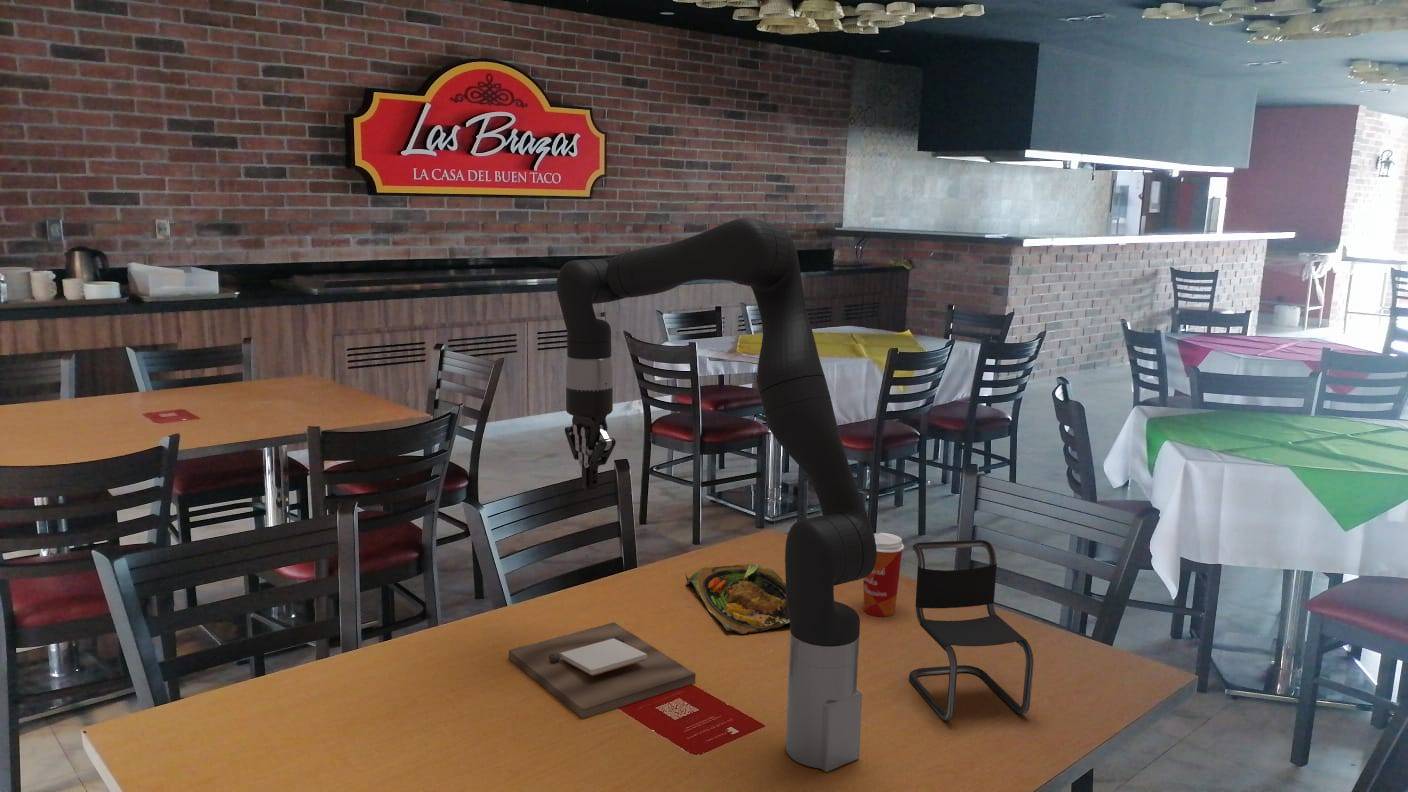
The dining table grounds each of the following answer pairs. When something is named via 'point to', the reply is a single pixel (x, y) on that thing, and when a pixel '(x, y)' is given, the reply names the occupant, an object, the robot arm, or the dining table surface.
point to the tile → (603, 656)
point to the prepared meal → (742, 596)
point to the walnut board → (607, 687)
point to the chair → (964, 622)
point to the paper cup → (883, 576)
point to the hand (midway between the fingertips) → (589, 488)
